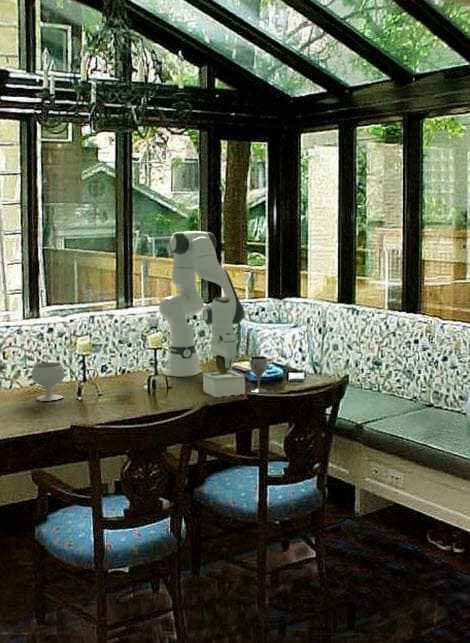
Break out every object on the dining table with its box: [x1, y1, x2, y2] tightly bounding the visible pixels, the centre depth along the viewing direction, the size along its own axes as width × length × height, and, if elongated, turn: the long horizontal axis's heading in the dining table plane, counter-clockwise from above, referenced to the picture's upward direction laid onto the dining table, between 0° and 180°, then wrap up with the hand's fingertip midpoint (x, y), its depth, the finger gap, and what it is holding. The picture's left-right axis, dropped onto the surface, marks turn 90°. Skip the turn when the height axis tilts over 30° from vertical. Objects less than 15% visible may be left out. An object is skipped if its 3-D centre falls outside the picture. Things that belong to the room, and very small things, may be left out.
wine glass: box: [249, 355, 268, 394], centre depth 393 cm, size 8×8×15 cm
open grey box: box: [202, 370, 246, 398], centre depth 391 cm, size 14×14×8 cm
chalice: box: [31, 362, 66, 402], centre depth 384 cm, size 14×14×15 cm
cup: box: [214, 355, 233, 375], centre depth 390 cm, size 8×7×8 cm
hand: (223, 365), depth 390 cm, fingers closed on cup, 6 cm apart
